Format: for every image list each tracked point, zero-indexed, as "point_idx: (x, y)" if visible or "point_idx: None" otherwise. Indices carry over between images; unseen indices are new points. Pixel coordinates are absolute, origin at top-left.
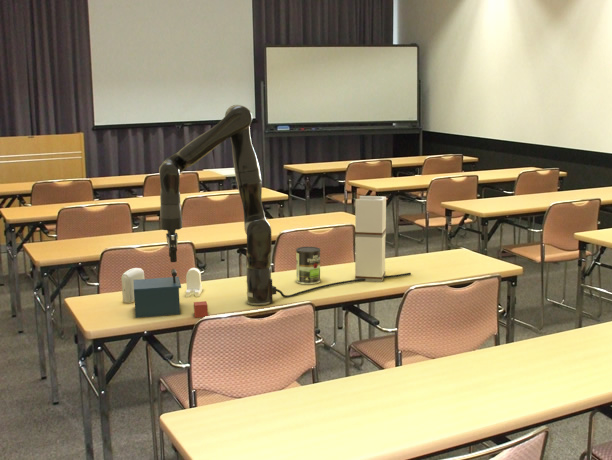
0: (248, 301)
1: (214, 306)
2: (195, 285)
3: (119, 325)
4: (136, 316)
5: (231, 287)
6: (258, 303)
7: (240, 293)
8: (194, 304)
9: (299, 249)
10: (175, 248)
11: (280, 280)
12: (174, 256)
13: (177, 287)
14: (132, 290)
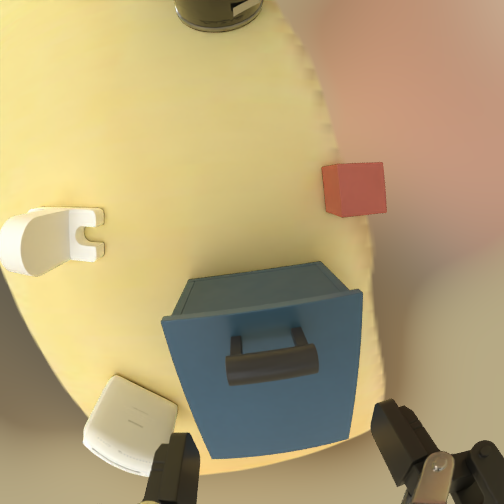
0: (235, 23)
1: (240, 137)
2: (60, 229)
3: (369, 393)
4: None
5: (30, 116)
6: (261, 1)
7: (94, 69)
8: (373, 213)
9: None
10: (489, 463)
11: (24, 15)
12: (422, 433)
13: (360, 306)
14: (164, 424)
